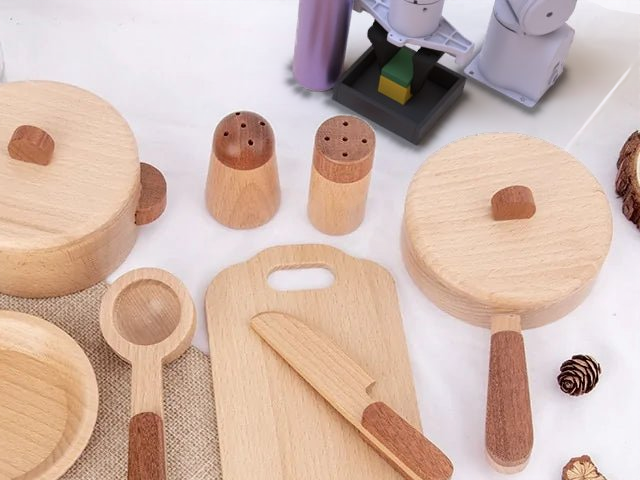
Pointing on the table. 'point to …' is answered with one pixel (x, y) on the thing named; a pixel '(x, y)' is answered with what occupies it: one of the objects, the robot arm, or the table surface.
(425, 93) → the tray
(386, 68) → the sponge
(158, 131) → the table surface
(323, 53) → the beverage can
